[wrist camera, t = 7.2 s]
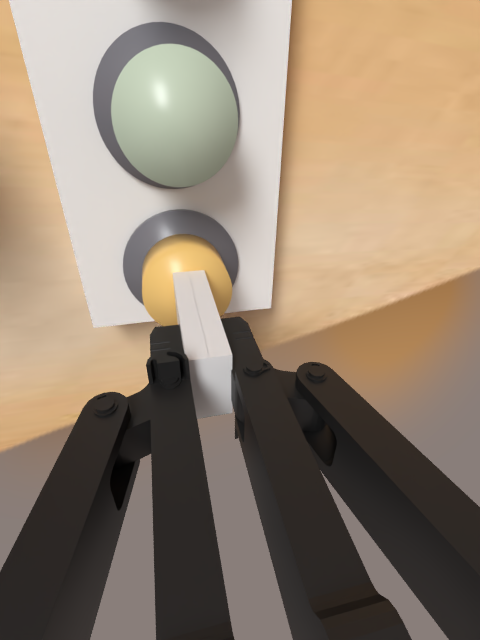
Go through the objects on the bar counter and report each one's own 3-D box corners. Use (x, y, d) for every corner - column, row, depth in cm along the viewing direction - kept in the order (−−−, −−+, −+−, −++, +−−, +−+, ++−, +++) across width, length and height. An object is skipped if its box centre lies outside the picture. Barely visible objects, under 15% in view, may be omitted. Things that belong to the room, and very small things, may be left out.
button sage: (125, 175, 15) (122, 189, 13) (105, 48, 13) (98, 40, 11) (225, 172, 16) (237, 185, 14) (224, 51, 14) (238, 45, 12)
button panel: (98, 302, 24) (92, 331, 21) (-41, -282, 12) (-98, -397, 9) (258, 287, 26) (272, 311, 23) (281, -221, 14) (316, -298, 11)
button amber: (147, 311, 20) (148, 336, 18) (136, 236, 18) (135, 256, 16) (223, 303, 21) (232, 326, 19) (222, 231, 19) (232, 248, 17)
